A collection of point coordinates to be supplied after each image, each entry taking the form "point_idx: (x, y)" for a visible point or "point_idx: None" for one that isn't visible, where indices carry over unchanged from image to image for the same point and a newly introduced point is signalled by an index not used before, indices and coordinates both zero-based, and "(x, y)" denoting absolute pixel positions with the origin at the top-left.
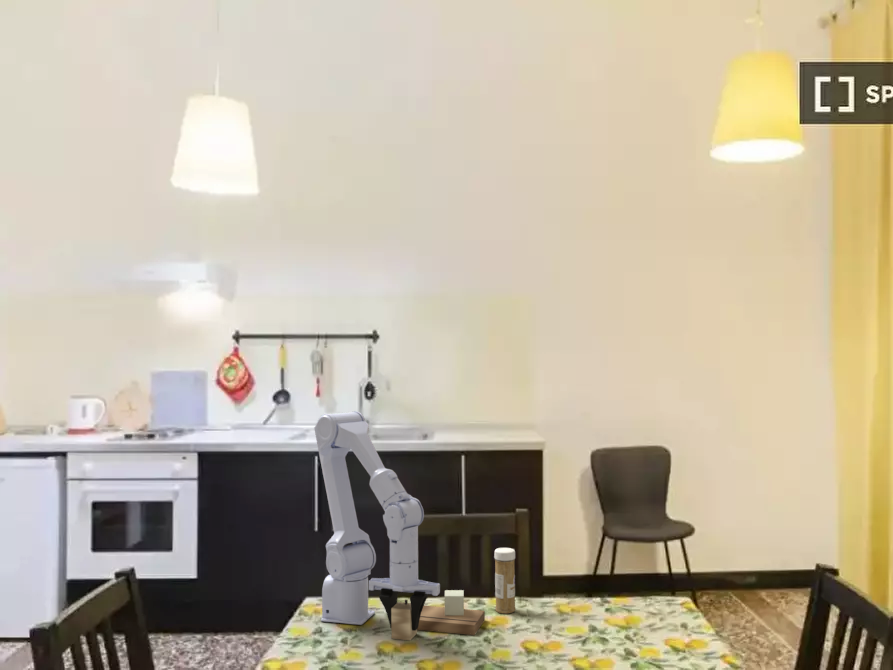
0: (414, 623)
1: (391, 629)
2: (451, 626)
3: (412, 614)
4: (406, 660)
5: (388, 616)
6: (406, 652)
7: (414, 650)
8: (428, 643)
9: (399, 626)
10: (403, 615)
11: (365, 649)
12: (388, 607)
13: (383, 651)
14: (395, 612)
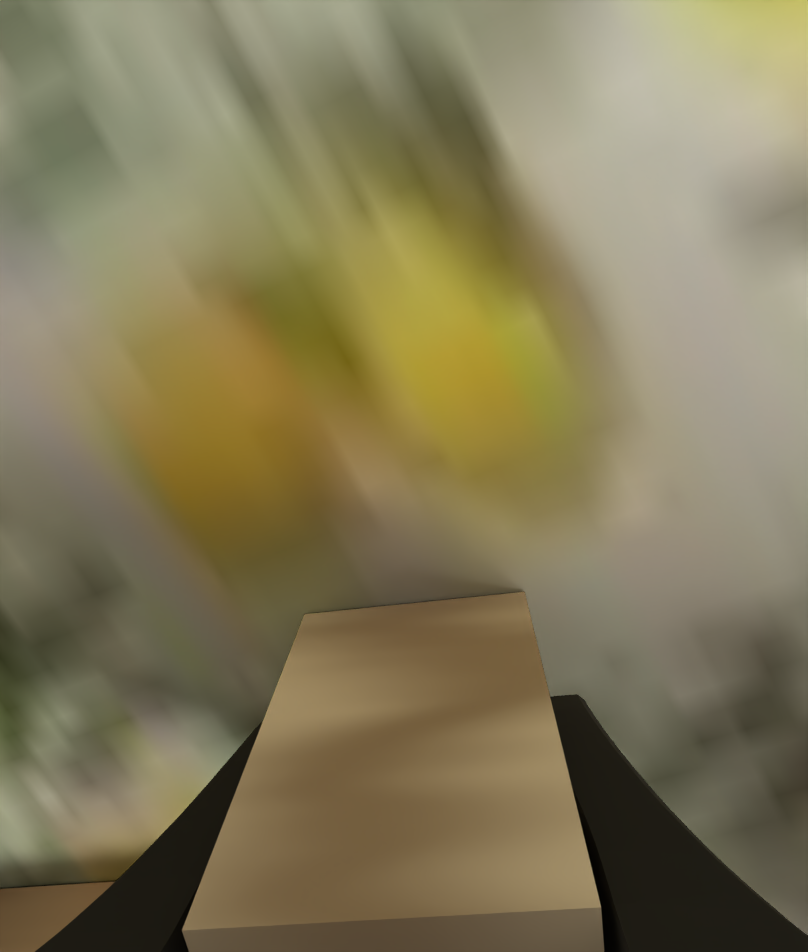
0: (225, 774)
1: (537, 647)
2: (20, 942)
3: (193, 872)
4: (10, 38)
5: (635, 786)
6: (158, 287)
7: (112, 381)
8: (96, 609)
9: (427, 690)
10: (342, 818)
11: (688, 157)
12: (678, 921)
13: (430, 196)
14: (498, 842)
